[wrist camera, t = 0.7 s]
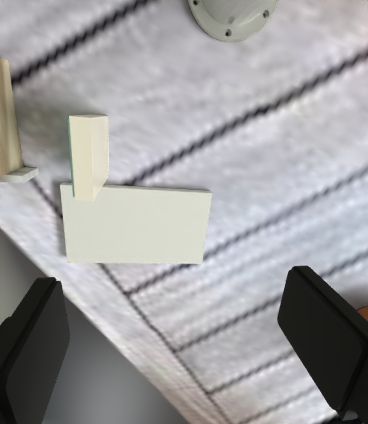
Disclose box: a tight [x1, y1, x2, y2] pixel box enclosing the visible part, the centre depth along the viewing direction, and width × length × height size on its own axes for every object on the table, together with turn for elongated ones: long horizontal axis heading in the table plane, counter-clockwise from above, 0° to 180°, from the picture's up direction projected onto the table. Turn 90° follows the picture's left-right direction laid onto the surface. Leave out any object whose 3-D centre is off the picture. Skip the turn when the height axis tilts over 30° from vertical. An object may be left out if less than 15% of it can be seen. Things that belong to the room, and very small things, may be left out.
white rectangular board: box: [60, 182, 212, 264], centre depth 42 cm, size 14×24×2 cm, turn 84°
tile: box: [67, 114, 109, 201], centre depth 32 cm, size 9×2×12 cm, turn 174°
